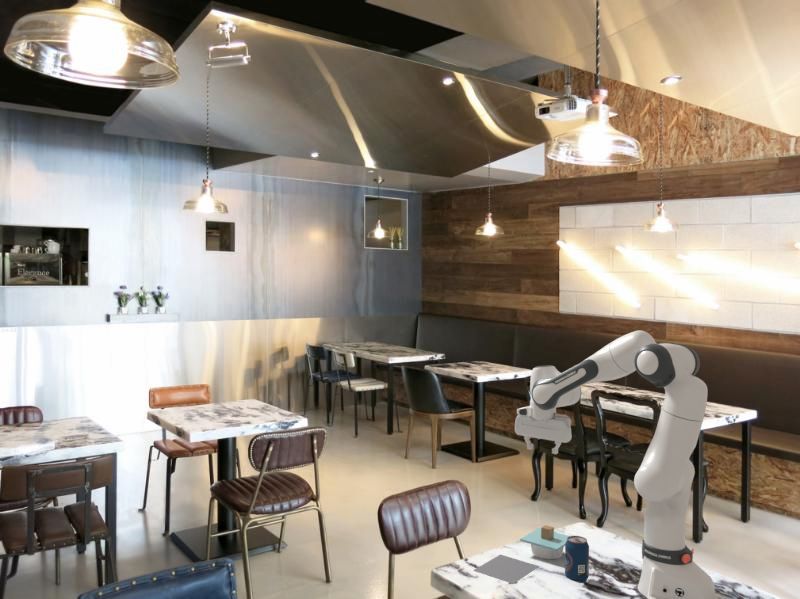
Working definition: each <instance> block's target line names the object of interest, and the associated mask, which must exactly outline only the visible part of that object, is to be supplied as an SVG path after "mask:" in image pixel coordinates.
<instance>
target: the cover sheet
mask: <svg viewBox="0 0 800 599" xmlns="http://www.w3.org/2000/svg"><path fill="white" fill-rule="evenodd" d="M569 536H570V535H567V534H563V533H561V532H560V533H559V532H555V527H553V526H550V525H546V524H545V525H543V526H541V527H539V528H536V529H535V530H532V531H531V532H530V533H528V534H526V535H524V536H523V537H521V538H519V541H520V542H523V543H527V544H530V545H531V544H533V545H537V546H541V547H544V548H548V549H551V550H555V551H558V550H559V549H561V548H562V547H563V548H565V543H566V541H567V538H568V537H569Z"/></svg>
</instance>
